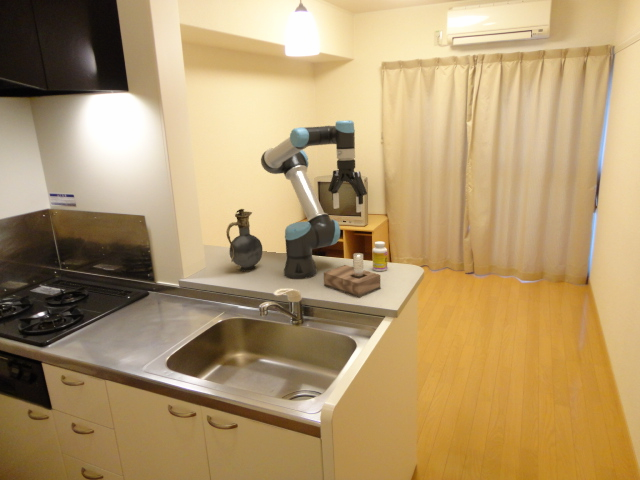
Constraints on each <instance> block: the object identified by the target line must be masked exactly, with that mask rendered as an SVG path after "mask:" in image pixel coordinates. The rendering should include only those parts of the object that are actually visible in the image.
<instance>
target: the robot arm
mask: <svg viewBox="0 0 640 480" xmlns="http://www.w3.org/2000/svg"><path fill="white" fill-rule="evenodd" d="M355 131H356V130H355V123H354V121H353V120H352V119H350V120H349V119H348V120H337V121H336V122H335V125H324V126H321V125H320V126H307V127H306V126H305V127H296V128H292V130H291V132H290V133H289V137H288V138H285V140H283V141H282V142H280V143H279V144H278V145H277V146H275V147H274V148H272V147H270V148H269V149H266V150H265V151H264V152H263V153H262V154H261V158H260V164H261V167H262V168H263V170H265V171H266V172H267V173H269V174H273V175H278V174H283V175H284V177H285V179H286V180H289V181H290V183H291V186H292V188H293V190H294V192H295V195H296V197H297V199H298V201H299V203H300V205H301V209H302V210H303V213H304V215H305V217H306V219H307V221H298V222H293V223H290V224H289V225H287V226H286V227H285V230H284V239H285V251H286V252H285V254H286V261H285V265H284V267H283V276H284V277H286V278H288V279H292V280H293V279H294V280H303V279H309V278H311V277H314V276H316V275H317V274H318V273H317V272H318V271H317V266H316V263H315V260H314V257H313V250H315V249H320V248H325V247H330V246H334V245H336V244H337V242H339V240H340V238H341V227H340V224H339V223H338V221H337V220H336V219H331V216H330V215H329V213H326V212H324V209H323V207H322V206H321V205H322V204H321V202H320V201H319V198H318V197H317V194H316V192H315V190H314V188H313V185H312V182H311V181H310V178H309V176H308V174H307V172H308V166H309V161H308V160H309V158H308V156H307V153H306V152H305V149H307V148H308V147H312V146H313V147H315V146H323V145H324V146H326V145H335V146H336V159H337V161H336V168H337V170H333V171H332V176H331V180H330V184H329V187H328V188H327V189H328V192H330V193H331V196H332V203H333V209H335V210H336V209H340V193H339V190H340V188H341V187H342V185H343V183H348V184H350V186H351V187H352V189H353V191H354V192H355V194H356V196H355V204H356V205H355V206H356V207H355V209H356V211H355V212H356V213H362V212H363V204H364V196H367V195H368V192H367V189H366V187H365V185H364V182H363V179H362V174H361V171H355V169H356V150H355V149H356V148H355V147H356V144H355V142H356V141H355V138H356V137H355Z"/></svg>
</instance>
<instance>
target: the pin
mask: <svg viewBox="0 0 640 480" xmlns="http://www.w3.org/2000/svg"><path fill="white" fill-rule="evenodd" d="M352 259H353V260H352V262H353V266H352V267H353V269H354V277H355V278H358V279H360V278H362V277H363V270H364V253H360V252H355V253H353V254H352Z"/></svg>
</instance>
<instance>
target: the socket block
mask: <svg viewBox="0 0 640 480" xmlns="http://www.w3.org/2000/svg"><path fill="white" fill-rule="evenodd" d="M323 286H324V287H327V288H330V289H332V290H336V291H338V292H341V293H344V294H347V295H349V294H350V295H349V296H353V297H355V298H361V297H363V296H367V295H369V294H371V293H373V292H375V291H379V290H380V289H382V288H381V274H379V273H375V272H371V271H368V270H365V269H363V277H362V278H360V279H358V278H355V277H354V269H353V266H351V265H346V264H344V265H341V266H338V267H335V268H333V269H329V270H327V271H324V272H323Z"/></svg>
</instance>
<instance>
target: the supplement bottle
mask: <svg viewBox="0 0 640 480" xmlns="http://www.w3.org/2000/svg"><path fill="white" fill-rule="evenodd" d="M385 246H386V242H385V241H381V240H380V241H375V242H374V247H373V248H372V269H373V270H374V271H376V272H384V271H386V270H388V249H387V247H385Z"/></svg>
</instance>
